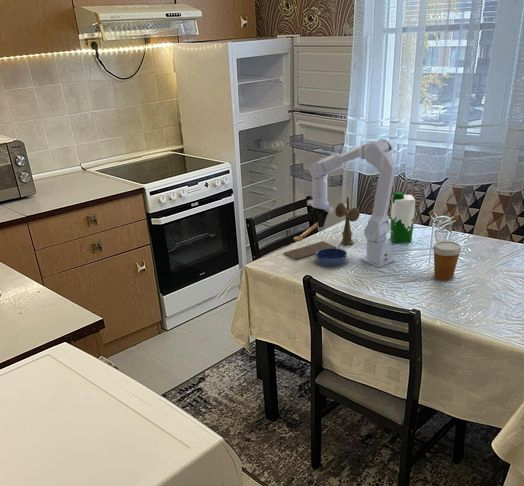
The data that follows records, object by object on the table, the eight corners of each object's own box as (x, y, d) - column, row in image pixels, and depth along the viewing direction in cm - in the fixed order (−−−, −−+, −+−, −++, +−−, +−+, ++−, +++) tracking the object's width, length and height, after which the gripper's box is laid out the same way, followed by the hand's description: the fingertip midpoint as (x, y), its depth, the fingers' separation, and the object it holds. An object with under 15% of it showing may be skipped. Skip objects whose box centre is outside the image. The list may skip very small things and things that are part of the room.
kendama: (345, 239, 232) (346, 192, 222) (359, 245, 225) (361, 197, 214) (334, 242, 230) (334, 195, 219) (348, 249, 222) (349, 200, 212)
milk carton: (388, 237, 231) (390, 190, 221) (409, 235, 231) (413, 188, 221) (391, 244, 224) (395, 196, 213) (414, 243, 224) (418, 194, 213)
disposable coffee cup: (443, 285, 188) (447, 252, 182) (424, 276, 196) (427, 244, 189) (463, 278, 192) (468, 246, 186) (444, 269, 199) (447, 238, 193)
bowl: (353, 262, 210) (353, 254, 208) (328, 270, 205) (328, 262, 203) (333, 253, 219) (333, 245, 217) (309, 261, 214) (309, 253, 212)
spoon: (297, 241, 214) (296, 227, 211) (292, 239, 216) (291, 225, 213) (325, 233, 220) (325, 219, 217) (320, 231, 222) (320, 217, 219)
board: (322, 243, 230) (322, 241, 229) (336, 249, 223) (336, 246, 223) (283, 254, 221) (283, 252, 221) (296, 261, 215) (296, 258, 214)
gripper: (339, 194, 208) (339, 228, 215) (316, 187, 219) (317, 219, 226) (325, 198, 205) (324, 232, 212) (302, 190, 216) (303, 223, 223)
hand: (320, 226), depth 219 cm, fingers closed on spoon
